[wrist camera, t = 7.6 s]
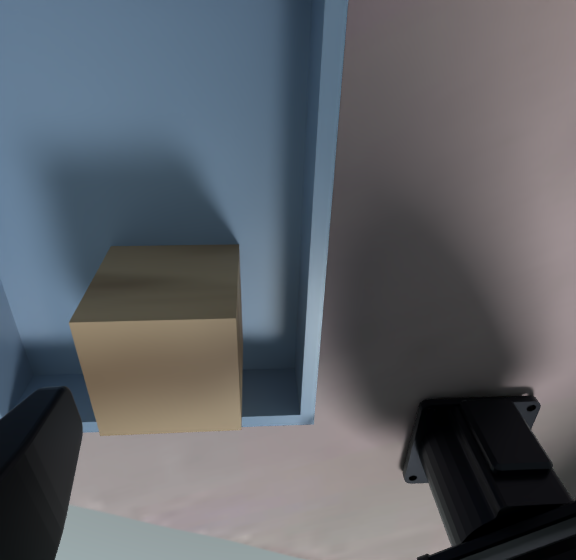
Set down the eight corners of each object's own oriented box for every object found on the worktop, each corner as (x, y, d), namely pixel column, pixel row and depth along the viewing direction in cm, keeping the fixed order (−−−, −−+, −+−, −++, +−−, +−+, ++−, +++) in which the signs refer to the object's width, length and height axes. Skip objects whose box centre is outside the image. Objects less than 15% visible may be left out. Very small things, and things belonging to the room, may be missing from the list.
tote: (305, 368, 23) (313, 424, 20) (28, 376, 22) (-7, 435, 19) (332, -59, 14) (354, -74, 11) (-131, -79, 13) (-241, -100, 10)
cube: (243, 342, 21) (241, 430, 17) (130, 346, 21) (100, 436, 17) (239, 244, 19) (236, 318, 14) (110, 246, 18) (68, 322, 14)
